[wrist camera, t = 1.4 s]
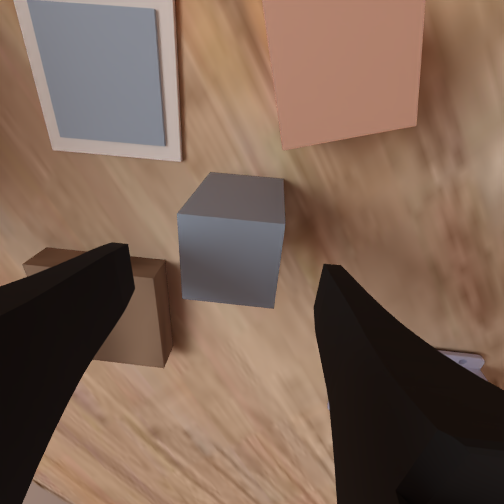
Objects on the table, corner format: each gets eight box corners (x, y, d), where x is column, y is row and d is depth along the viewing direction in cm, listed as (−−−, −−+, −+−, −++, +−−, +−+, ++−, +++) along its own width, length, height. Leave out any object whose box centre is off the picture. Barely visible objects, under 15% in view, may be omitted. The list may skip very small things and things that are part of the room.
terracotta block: (364, 4, 12) (429, -58, 7) (364, 110, 14) (416, 125, 9) (268, 29, 13) (260, -11, 7) (281, 127, 15) (282, 150, 9)
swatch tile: (174, -11, 12) (170, -14, 12) (182, 160, 16) (179, 162, 15) (12, -22, 12) (3, -26, 12) (56, 149, 16) (50, 150, 16)
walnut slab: (167, 256, 19) (153, 278, 17) (174, 342, 23) (164, 368, 21) (50, 244, 20) (22, 264, 18) (77, 330, 24) (57, 355, 22)
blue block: (283, 178, 16) (285, 224, 11) (275, 243, 18) (273, 308, 13) (210, 172, 16) (177, 213, 11) (210, 237, 18) (182, 298, 13)
